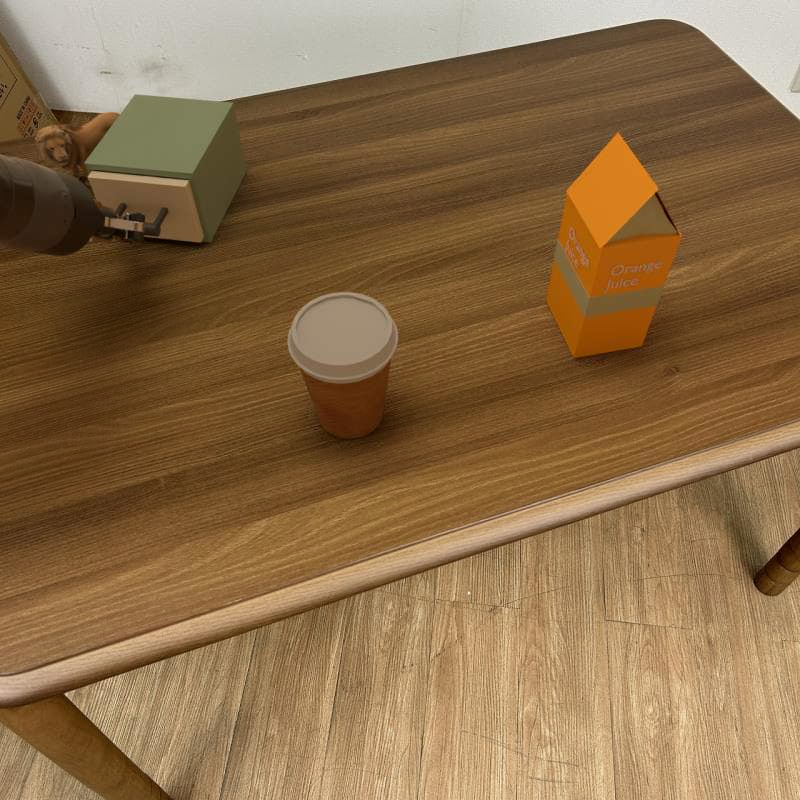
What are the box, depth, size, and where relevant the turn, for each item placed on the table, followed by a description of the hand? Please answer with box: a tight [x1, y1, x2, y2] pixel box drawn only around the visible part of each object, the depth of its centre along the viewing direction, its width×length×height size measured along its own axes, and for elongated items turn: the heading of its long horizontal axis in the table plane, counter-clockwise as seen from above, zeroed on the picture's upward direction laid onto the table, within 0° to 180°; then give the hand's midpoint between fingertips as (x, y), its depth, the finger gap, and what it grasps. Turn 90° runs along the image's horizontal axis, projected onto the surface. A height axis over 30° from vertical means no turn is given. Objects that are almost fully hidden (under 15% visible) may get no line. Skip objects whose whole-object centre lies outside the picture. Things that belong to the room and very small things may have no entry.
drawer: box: [88, 171, 204, 244], centre depth 87 cm, size 18×11×8 cm, turn 170°
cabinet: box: [84, 93, 248, 243], centre depth 90 cm, size 15×13×10 cm
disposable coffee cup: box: [286, 291, 399, 440], centre depth 68 cm, size 10×10×12 cm
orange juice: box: [545, 132, 683, 359], centre depth 72 cm, size 8×9×20 cm
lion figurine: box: [34, 111, 121, 188], centre depth 94 cm, size 15×5×9 cm, turn 149°
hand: (128, 232), depth 81 cm, fingers closed
